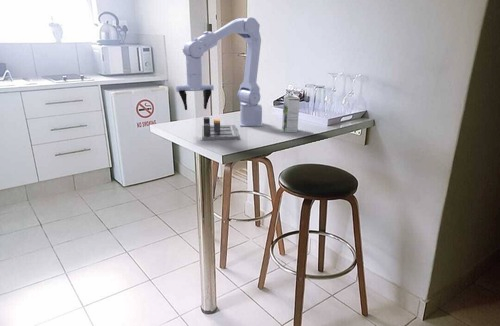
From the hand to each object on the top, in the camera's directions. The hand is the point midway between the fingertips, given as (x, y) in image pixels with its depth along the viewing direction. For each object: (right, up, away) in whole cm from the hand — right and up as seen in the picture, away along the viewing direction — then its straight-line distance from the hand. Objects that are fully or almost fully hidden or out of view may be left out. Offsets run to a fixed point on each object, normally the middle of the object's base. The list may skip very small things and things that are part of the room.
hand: (195, 109), depth 144 cm
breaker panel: (+9, -10, +2) cm, 14 cm away
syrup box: (+38, -8, +8) cm, 40 cm away
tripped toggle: (+8, -8, +1) cm, 12 cm away
